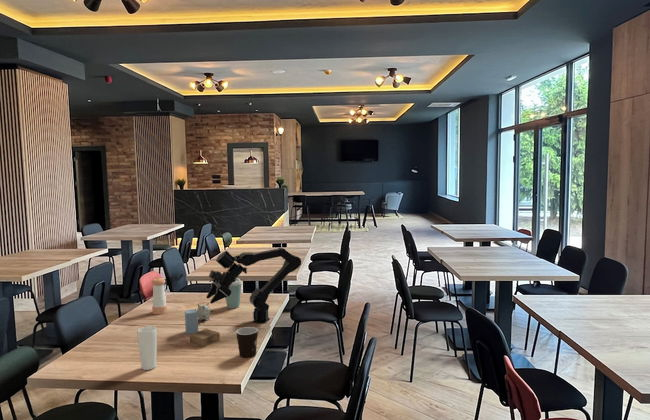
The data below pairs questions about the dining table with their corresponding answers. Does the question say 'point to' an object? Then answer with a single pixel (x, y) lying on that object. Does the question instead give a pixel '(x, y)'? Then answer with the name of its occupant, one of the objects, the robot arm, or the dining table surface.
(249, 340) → the coffee mug
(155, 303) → the salt shaker
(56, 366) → the dining table surface
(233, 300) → the disposable coffee cup
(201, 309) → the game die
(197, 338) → the walnut block
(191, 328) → the blue block
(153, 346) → the drinking glass
